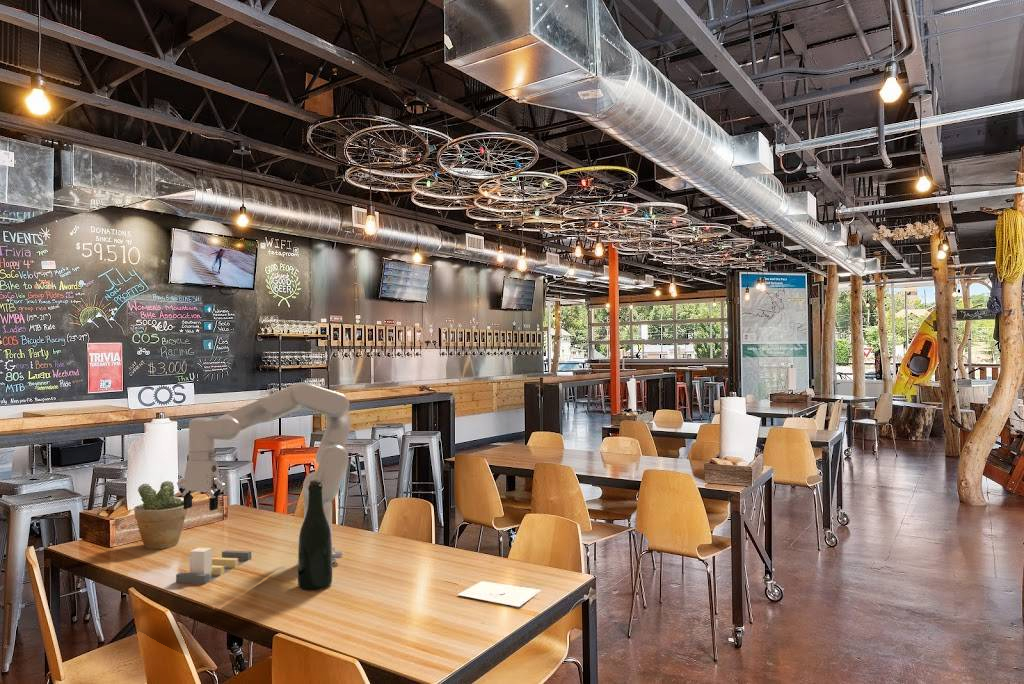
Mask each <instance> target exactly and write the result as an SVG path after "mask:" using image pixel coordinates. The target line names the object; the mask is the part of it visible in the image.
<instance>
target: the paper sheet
mask: <svg viewBox="0 0 1024 684" xmlns="http://www.w3.org/2000/svg"><path fill="white" fill-rule="evenodd" d="M541 591H542V589H539V588H531V587H523V586H517V585H512V584H511V585H510V584H503V583H496V582H492V581H491V582H489V581H484V580H483V581H482V580H481V581H479V582H477V583H476V584H473V585H471V586H470V587H469V588H467V589H465V590H463V591H461V592H460V593H457V596H462V597H467V598H472V599H476V600H481V601H486V602H487V601H488V602H491V603H492V602H493V603H497V604H503V605H507V606H508V605H509V606H512V607H518V608H519V607H521V606H523V604H525V603H527V602H528V601H529V600H531V599H532V598H533V597H534V596H535V595H537V594H538V593H540V592H541Z"/></svg>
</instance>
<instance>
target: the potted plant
mask: <svg viewBox="0 0 1024 684" xmlns="http://www.w3.org/2000/svg"><path fill="white" fill-rule="evenodd" d="M159 488H160V489H159V490H158V492H157V491H156V490H155V489H154V488H152V486H151V485H150V483H142V484H140V485H139V486H138V489H137V491H138V494H139V496H140V498H141V499H140V500H141V502H142V503H141V504H138V505H136V506H135V507H134V508H133V510H134V518H135V520H136V524H137V528H138V532H139V535H140V537H141V541H142V543H143V546H144V548H145V549H147V550H153V551H154V550H163V549H168V548H172V547H175V546H176V545H177V544H179V541H180V538H181V534H182V531H183V526H184V522H185V518H186V516H187V514H188V509H184V500H182V499H181V498H179V497H178V496H175V485H174V482H172V481H171V480H164V481H163V482H161V484H160V487H159Z"/></svg>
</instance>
